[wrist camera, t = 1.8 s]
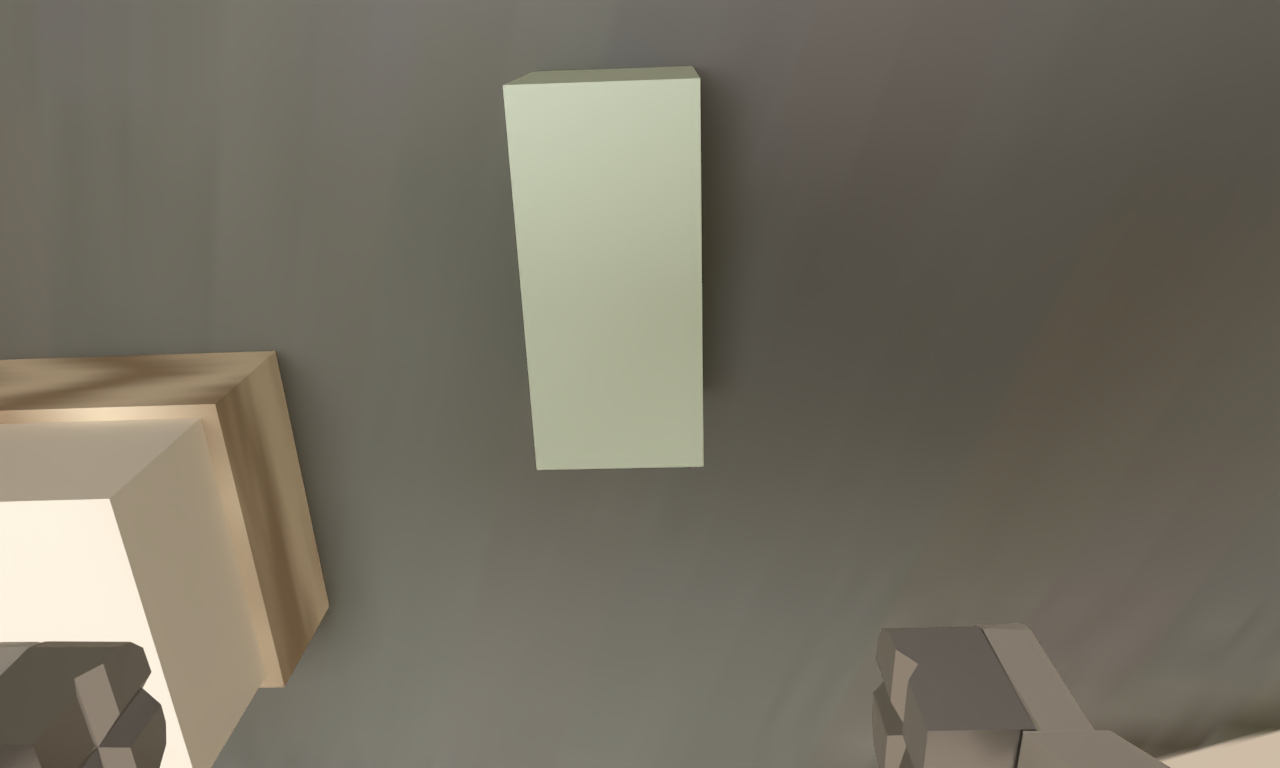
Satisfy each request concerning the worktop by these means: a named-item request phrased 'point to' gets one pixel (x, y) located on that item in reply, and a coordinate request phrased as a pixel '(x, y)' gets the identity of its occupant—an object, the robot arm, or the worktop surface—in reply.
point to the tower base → (240, 452)
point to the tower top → (131, 564)
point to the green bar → (610, 263)
